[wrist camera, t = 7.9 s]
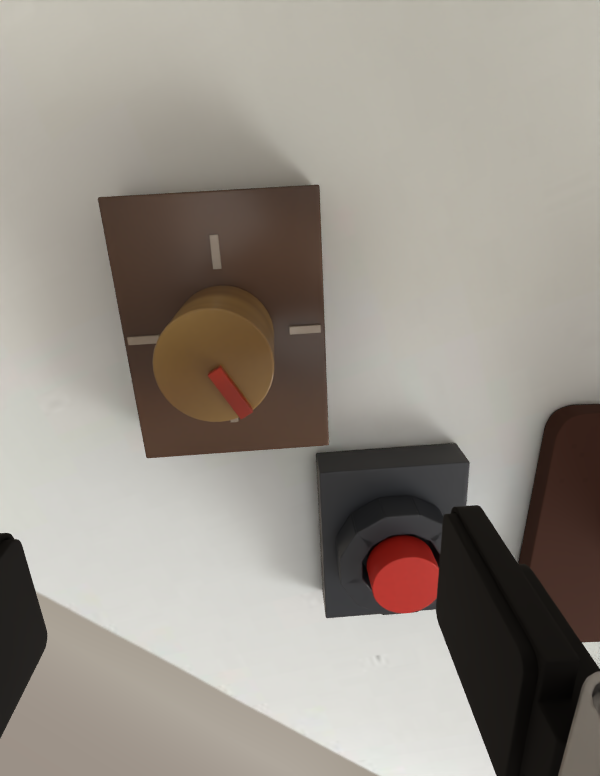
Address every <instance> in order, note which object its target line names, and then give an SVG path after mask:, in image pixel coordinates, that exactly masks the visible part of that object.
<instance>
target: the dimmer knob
mask: <svg viewBox="0 0 600 776" xmlns="http://www.w3.org/2000/svg"><path fill="white" fill-rule="evenodd" d="M153 372H154V376H155V379H156V382H157V385H158V387H159V389H160V390H161V392H162V394H163V395H164V396H165V398H166V399H167V400H168V401H169V402H170V403H171V404H172V405H173V406H174V407H175V408H176V409H178V410H179V411H181V412H182V413H184V414H186V415H188V416H190V417H193V418H195V419H199V420H203V421H209V422H222V421H229V420H233V419H236V418H240V419H243V418H245V417H246V416H248V415H249V414H251V413H253V409H255V408H256V407H257V406H258V405H259V404H260V403H261V402H262V400H263V399H264V398H265V396H266V395H267V393H268V391H269V389H270V387H271V384H272V381H273V376H274V329H273V324H272V320H271V318H270V315H269V313H268V311H267V310H266V308H265V307H264V305H263V304H262V303H261V302H260V301H259V300H258V299H257V298H256V297H254V296H253V295H252V294H250V293H248V292H247V291H245V290H242V289H240V288H237V287H233V286H222V285H220V286H212V287H208V288H205V289H203V290H200V291H199V292H197V293H195V294H194V295H193V296H191V297H190V298H189V299H188V300H187V301H186V302H185V303H184V305H183V306H182V307H181V308H180V310H179V311H178V312H177V313H176V315H175V316H174V317H173V318H172V320H171V321H170V322H169V324H168V325H167V326H166V327H165V329H164V330H163V331H162V333H161V334H160V336H159V338H158V340H157V342H156V345H155V348H154V353H153Z"/></svg>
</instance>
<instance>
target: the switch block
mask: <svg viewBox="0 0 600 776" xmlns="http://www.w3.org/2000/svg"><path fill="white" fill-rule="evenodd" d="M316 463H317V484H318V505H319V526H320V547H321V568H322V589H323V598H324V606H325V614H326V618H334V617H347V616H359V615H371V614H383V615H389V614H401V613H396V612H392V611H389V610H387V609H385V608H383V607H382V606H381V605H379V603H378V602H377V601H376V600H375V598H374V596H373V592H372V588H371V584H370V580H369V576H368V572H367V559H368V556H369V554H370V552H371V551H372V550H373V548H374V547H375V546H376V545H377V544H379V543H380V542H382V541H383V540H385V539H387V538H390V537H393V536H399V535H408V536H413V537H416V538H419V539H421V540H422V541H424V542H425V543H426V544H427V545H428V546H429V547H430V549H431V551H432V553H433V555H434V558H435V560H436V562H437V564H438V567H439V563H440V550H441V538H442V526H443V517H444V515H445V514H451V510H452V508H453V507H458V506H466V502H467V489H468V476H469V463H470V462H469V461H468V459H467V458H466V457H465V455H464V454H463V452H462V451H461V450H460V448H459V447H458V446H457V444H455V443H453V444H439V445H425V446H412V447H398V448H384V449H370V450H356V451H342V452H329V453H317V454H316ZM436 599H437V598H436ZM436 599H435V600H434V601H433V602H432V603H431V604H430V605H429V606H427V607H425V608H423V609H421V610H433V609H436ZM421 610H419V611H421ZM416 612H418V611H416ZM411 613H413V612H411Z"/></svg>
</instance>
